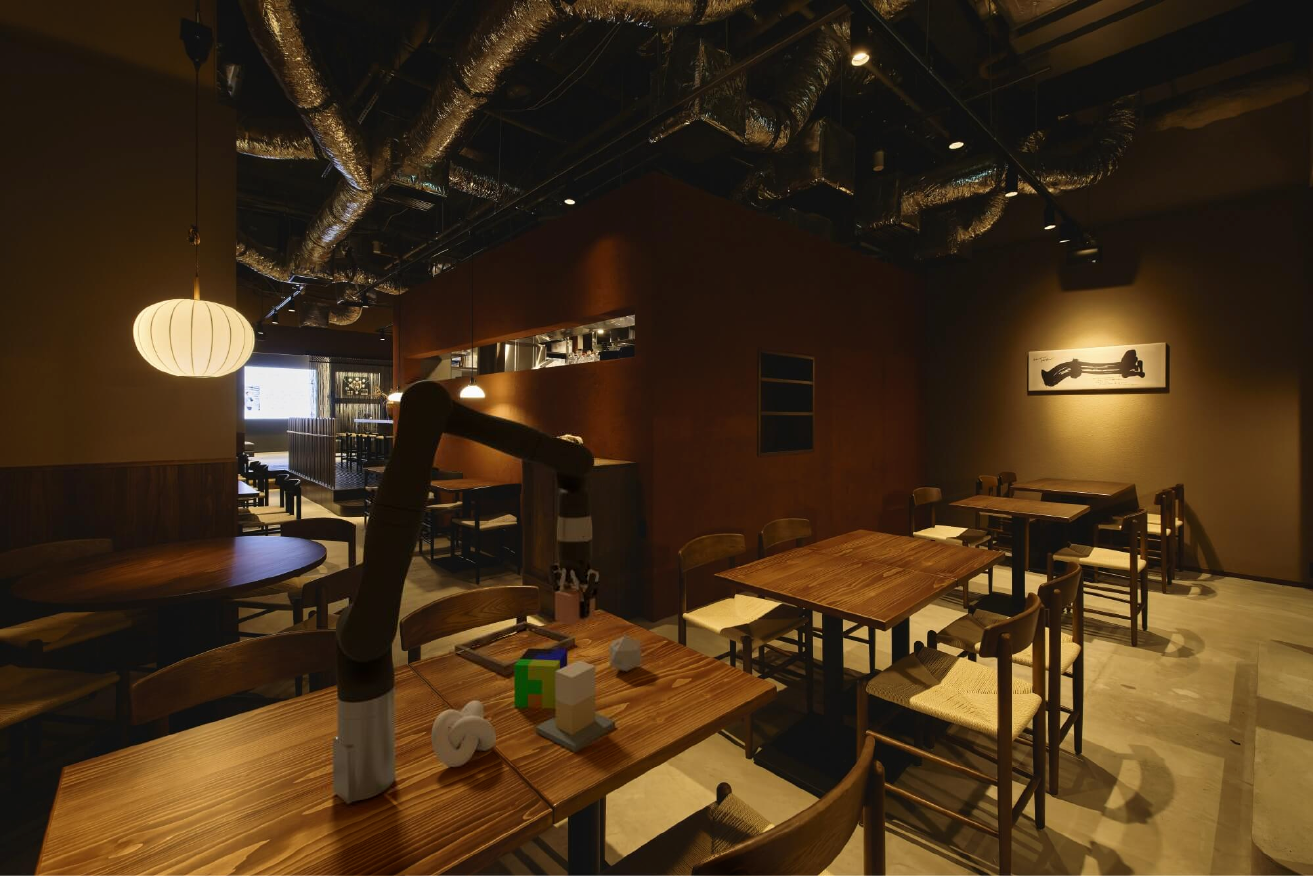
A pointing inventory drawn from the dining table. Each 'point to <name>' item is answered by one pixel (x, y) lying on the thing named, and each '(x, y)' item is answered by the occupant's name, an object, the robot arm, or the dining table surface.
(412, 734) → the dining table surface
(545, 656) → the puzzle toy
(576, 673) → the brick white
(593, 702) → the brick mustard
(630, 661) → the die
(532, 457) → the robot arm
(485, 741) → the white knot
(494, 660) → the tray frame
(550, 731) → the baseplate
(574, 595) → the brick terracotta
